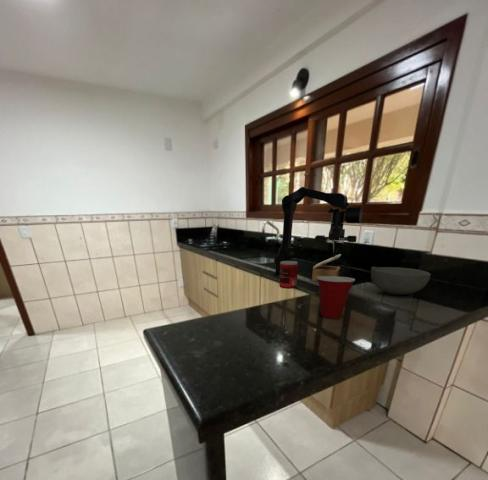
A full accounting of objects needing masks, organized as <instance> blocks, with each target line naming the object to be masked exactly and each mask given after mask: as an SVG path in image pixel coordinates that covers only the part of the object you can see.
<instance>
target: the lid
mask: <svg viewBox="0 0 488 480" xmlns="http://www.w3.org/2000/svg"><path fill="white" fill-rule="evenodd" d="M341 256H342V254H341V253H339V254H336V255H335V257H332V256H331V257H330V258H328V259H325V260H323V261H320V262H318V263H317V264H315V265H313V267H312V270H313V269H314V268H316V267H319V266H324V265H326V264H328V263H330V262H332V261H335V260H337V259H340V257H341Z"/></svg>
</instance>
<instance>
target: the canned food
mask: <svg viewBox="0 0 488 480" xmlns="http://www.w3.org/2000/svg"><path fill="white" fill-rule="evenodd" d="M298 270H299V262H298V261H295V260H290V261H281V262H280V275H279V281H278V285H279V288H281V289H285V290H290V289H292V290H293V289H296V288H297V282H298Z"/></svg>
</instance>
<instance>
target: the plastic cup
mask: <svg viewBox="0 0 488 480" xmlns="http://www.w3.org/2000/svg"><path fill="white" fill-rule="evenodd" d="M317 279H318V281H317V284H318V291H319V304H320V314H321V316H322V317H324V318H326V319H340V318H341V317H342V315H343V311H344V309H345V307H346V303H347V301H348V297H349V294H350V292H351V289H352V286H353V284H354V282H355V281H356V279H355V278H353V277H347V276H339V277H337V276H318V277H317Z"/></svg>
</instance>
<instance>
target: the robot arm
mask: <svg viewBox="0 0 488 480" xmlns="http://www.w3.org/2000/svg"><path fill="white" fill-rule="evenodd" d="M305 198H310V199H314V200H318V201H321V202H325V203H327V204H329V205H330V206H332V207H330V209H329V210H328V211H327V214H331V219H330V229H329V231H328V236H325V234H321V235H320V234H317V235H314V243H316V242H317V243H322V242H324V241H326V244H327V245H328V246H329V249H330V253H331V258H332V257H335V256H336V255H337V252H338V251H339V248H340V247H341V245H344V242H348V243H357V238H358V237H357V236H356V235H347V236H345V233H346V229H345V228H344V222H345V221H346V224H361V223H362V220H363V206H353V207H352V206H351V205H350V203H349V202H348V201H349V199H348V196H347V195H346V194H344V193H340V192H324V191H320V190H316V189H312V188H308V187H306V186H301V187H299V188H298V189H297V190H295V191H292V192H291V193H289V194H288V195H285V196H283V198H281V209H282V213H283V223H282V224H283V225H282V226H283V227H282V239H281V246H280V247H279V249H278V254H277V256H276V257H275V258H274V259H273V263H274V264H275V273H274V275H279V276H280V262H281V261H291V260H292V258H293V257H294V255H295V246H292V234H293V222H294V214H295V212H296V210H297V206H298V204H299V203H301V201H303V200H304V199H305ZM334 207H335V208H334ZM335 241H336V242H335Z"/></svg>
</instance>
